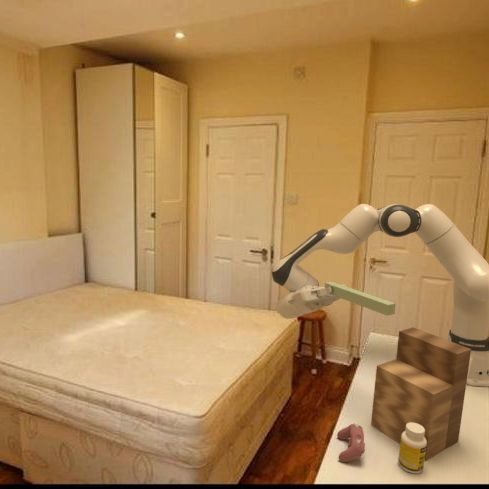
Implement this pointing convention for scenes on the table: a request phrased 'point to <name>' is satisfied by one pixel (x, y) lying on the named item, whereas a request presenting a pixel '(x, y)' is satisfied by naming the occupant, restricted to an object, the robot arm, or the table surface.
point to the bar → (362, 299)
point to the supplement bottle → (412, 448)
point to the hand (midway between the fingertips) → (336, 288)
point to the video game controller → (352, 442)
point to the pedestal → (422, 389)
